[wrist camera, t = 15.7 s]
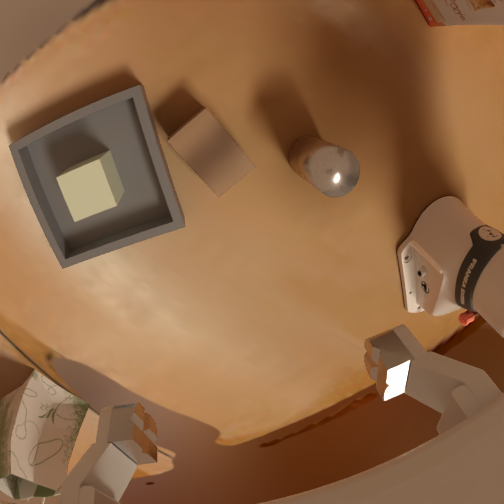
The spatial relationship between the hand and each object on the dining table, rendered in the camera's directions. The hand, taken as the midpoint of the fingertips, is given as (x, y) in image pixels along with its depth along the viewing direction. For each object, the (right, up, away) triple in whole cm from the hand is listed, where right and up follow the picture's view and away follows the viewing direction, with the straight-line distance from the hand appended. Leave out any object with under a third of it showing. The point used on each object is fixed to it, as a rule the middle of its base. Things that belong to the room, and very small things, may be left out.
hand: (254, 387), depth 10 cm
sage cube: (-17, +13, +22) cm, 31 cm away
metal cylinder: (+7, +16, +27) cm, 32 cm away
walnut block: (-5, +16, +24) cm, 29 cm away
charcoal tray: (-17, +13, +22) cm, 31 cm away
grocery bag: (-47, -29, +38) cm, 67 cm away
